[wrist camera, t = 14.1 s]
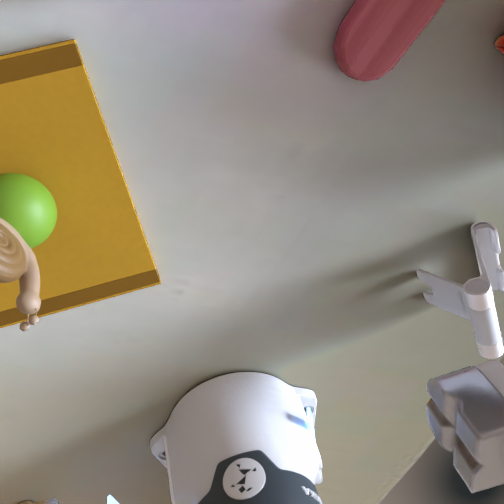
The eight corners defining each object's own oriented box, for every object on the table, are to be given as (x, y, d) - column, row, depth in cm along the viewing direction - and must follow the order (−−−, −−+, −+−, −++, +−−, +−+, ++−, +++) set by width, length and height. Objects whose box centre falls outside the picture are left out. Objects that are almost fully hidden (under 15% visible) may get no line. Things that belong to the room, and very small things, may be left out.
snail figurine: (32, 250, 37) (-5, 354, 27) (-37, 190, 34) (-108, 283, 24) (86, 211, 37) (69, 303, 27) (21, 146, 33) (-27, 223, 23)
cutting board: (160, 281, 42) (161, 284, 41) (0, 325, 40) (-1, 328, 40) (74, 38, 31) (74, 39, 31) (-147, 89, 30) (-151, 90, 29)
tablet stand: (495, 279, 51) (554, 329, 44) (429, 313, 51) (476, 368, 44) (483, 217, 46) (547, 261, 39) (410, 254, 46) (460, 305, 39)
